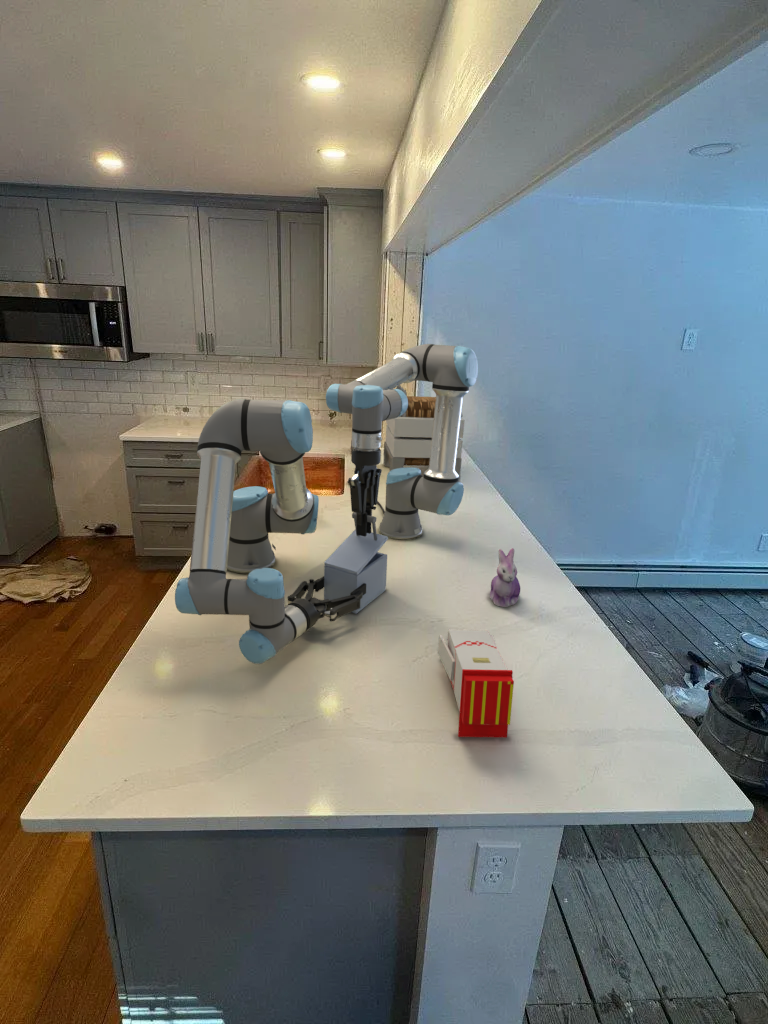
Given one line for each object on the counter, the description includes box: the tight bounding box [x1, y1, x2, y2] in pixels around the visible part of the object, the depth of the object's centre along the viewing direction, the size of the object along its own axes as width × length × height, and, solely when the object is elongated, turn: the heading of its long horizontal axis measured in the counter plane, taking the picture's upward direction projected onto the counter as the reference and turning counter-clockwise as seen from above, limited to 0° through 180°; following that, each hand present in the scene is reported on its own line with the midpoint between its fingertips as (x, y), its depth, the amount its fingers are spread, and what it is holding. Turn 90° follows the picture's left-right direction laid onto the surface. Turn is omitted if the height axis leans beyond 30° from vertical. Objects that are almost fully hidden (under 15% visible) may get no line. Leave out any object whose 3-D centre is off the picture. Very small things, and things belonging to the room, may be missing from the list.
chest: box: [323, 551, 388, 615], centre depth 154 cm, size 16×10×11 cm, turn 151°
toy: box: [437, 628, 515, 738], centre depth 117 cm, size 12×13×30 cm
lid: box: [323, 512, 389, 575], centre depth 149 cm, size 16×10×8 cm, turn 151°
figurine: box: [489, 547, 521, 608], centre depth 154 cm, size 9×10×15 cm
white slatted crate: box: [383, 384, 465, 482], centre depth 268 cm, size 34×33×41 cm
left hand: (347, 582), depth 150 cm, fingers closed on chest, 10 cm apart
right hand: (363, 533), depth 152 cm, fingers closed on lid, 2 cm apart
